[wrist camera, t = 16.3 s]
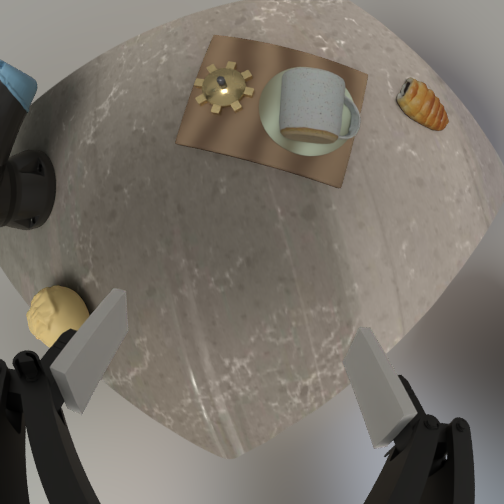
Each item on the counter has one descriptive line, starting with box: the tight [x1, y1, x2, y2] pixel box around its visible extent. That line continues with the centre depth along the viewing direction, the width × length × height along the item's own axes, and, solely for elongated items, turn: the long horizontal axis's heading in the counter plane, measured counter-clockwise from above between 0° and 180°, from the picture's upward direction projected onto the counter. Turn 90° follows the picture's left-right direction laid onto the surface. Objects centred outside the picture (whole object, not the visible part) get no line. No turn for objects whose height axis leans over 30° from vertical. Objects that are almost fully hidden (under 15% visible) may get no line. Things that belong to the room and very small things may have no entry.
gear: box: [194, 61, 255, 116], centre depth 30 cm, size 8×8×4 cm
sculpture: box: [26, 285, 89, 347], centre depth 37 cm, size 12×12×11 cm
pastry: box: [397, 78, 449, 131], centre depth 30 cm, size 9×7×4 cm
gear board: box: [175, 35, 368, 188], centre depth 32 cm, size 23×18×2 cm
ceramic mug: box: [279, 67, 360, 144], centre depth 28 cm, size 11×8×8 cm
